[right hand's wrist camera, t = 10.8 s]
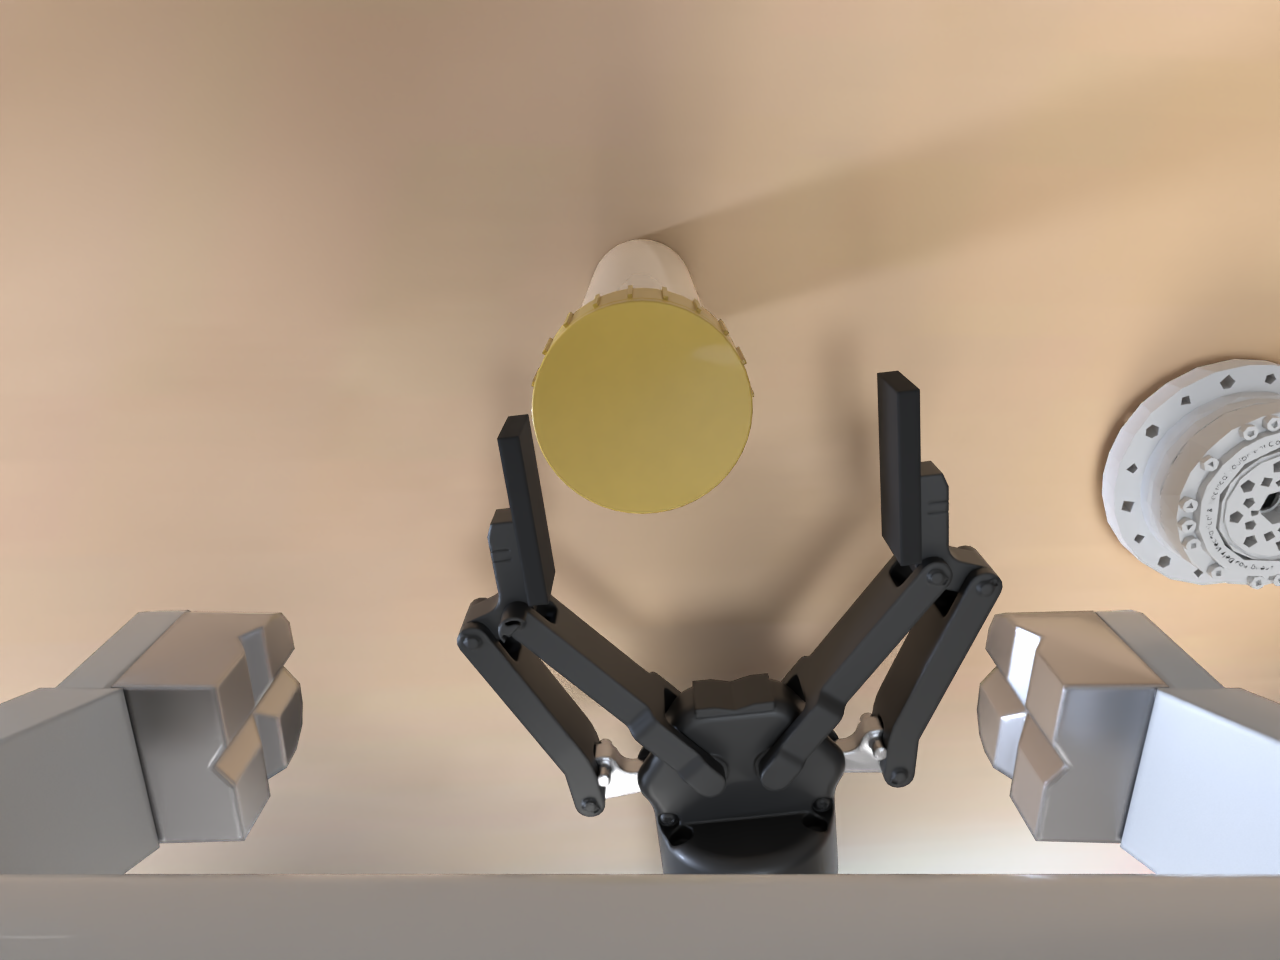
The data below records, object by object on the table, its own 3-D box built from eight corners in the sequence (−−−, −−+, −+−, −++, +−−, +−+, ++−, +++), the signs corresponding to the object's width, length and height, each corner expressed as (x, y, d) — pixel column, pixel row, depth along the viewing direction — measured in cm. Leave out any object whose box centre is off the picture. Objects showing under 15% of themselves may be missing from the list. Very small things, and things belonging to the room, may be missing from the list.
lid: (718, 259, 21) (726, 270, 19) (765, 458, 22) (776, 486, 20) (511, 316, 21) (498, 332, 19) (572, 507, 23) (566, 538, 21)
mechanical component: (1109, 593, 41) (1332, 540, 40) (1162, 643, 37) (1411, 584, 36) (1086, 392, 38) (1329, 329, 37) (1141, 422, 34) (1415, 351, 33)
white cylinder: (678, 226, 36) (709, 292, 19) (702, 326, 37) (751, 467, 21) (578, 254, 36) (526, 342, 20) (607, 352, 38) (580, 510, 21)
